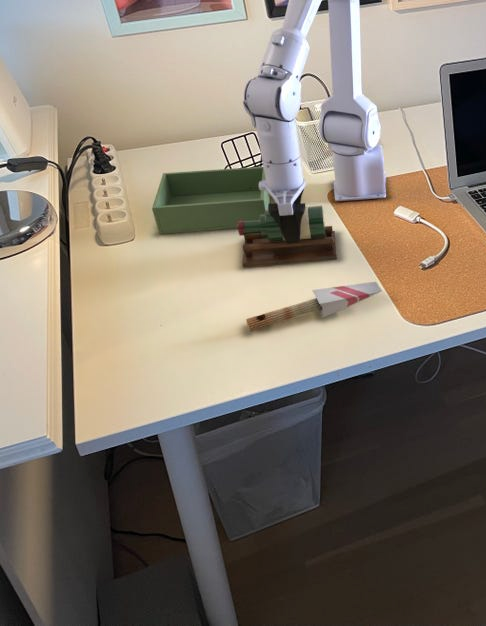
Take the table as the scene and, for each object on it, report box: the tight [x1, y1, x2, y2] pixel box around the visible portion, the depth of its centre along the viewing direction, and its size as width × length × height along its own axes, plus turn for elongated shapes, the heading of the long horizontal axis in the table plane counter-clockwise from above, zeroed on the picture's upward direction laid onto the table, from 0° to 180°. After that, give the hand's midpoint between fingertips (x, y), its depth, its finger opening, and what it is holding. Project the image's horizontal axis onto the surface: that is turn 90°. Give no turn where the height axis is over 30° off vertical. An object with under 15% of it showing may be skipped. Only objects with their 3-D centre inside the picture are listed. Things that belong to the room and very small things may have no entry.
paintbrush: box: [245, 281, 383, 332], centre depth 107 cm, size 4×3×20 cm
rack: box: [242, 225, 338, 268], centre depth 120 cm, size 15×8×3 cm, turn 102°
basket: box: [151, 166, 271, 235], centre depth 129 cm, size 18×13×5 cm
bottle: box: [237, 205, 326, 242], centre depth 118 cm, size 14×5×5 cm, turn 101°
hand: (292, 232), depth 119 cm, fingers closed on bottle, 5 cm apart
